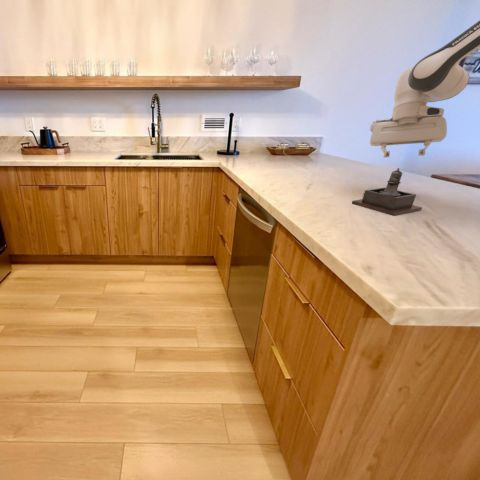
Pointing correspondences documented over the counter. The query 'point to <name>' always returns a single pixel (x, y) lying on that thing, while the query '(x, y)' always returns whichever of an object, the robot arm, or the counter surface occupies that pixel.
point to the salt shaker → (393, 184)
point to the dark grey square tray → (388, 202)
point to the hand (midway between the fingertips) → (403, 156)
